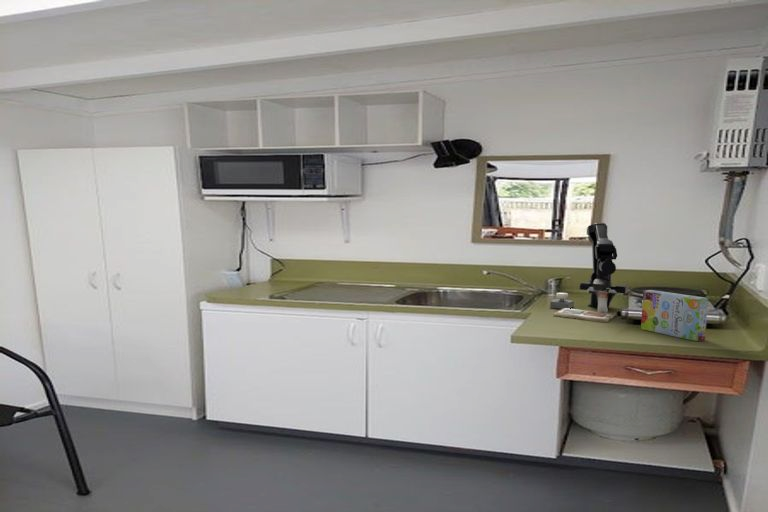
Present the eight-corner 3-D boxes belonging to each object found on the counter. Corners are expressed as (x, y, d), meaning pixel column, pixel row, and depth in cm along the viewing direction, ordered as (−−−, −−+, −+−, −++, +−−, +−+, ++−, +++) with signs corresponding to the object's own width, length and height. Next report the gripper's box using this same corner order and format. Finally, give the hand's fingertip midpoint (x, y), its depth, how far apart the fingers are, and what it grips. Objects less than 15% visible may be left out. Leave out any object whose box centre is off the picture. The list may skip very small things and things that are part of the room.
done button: (558, 302, 236) (558, 292, 236) (569, 304, 233) (569, 293, 233) (554, 304, 232) (554, 293, 232) (565, 305, 229) (566, 294, 229)
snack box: (706, 340, 176) (709, 297, 175) (697, 342, 174) (699, 299, 172) (648, 327, 195) (650, 288, 193) (639, 329, 192) (641, 290, 190)
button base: (556, 305, 238) (556, 298, 238) (573, 307, 234) (573, 300, 233) (550, 307, 232) (550, 301, 232) (567, 309, 227) (568, 303, 227)
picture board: (564, 310, 227) (564, 307, 227) (614, 316, 214) (614, 313, 214) (553, 315, 215) (553, 312, 215) (605, 322, 203) (605, 319, 202)
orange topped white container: (598, 311, 224) (599, 291, 223) (608, 312, 222) (609, 292, 221) (596, 312, 221) (596, 292, 220) (606, 314, 218) (607, 293, 217)
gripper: (576, 272, 219) (575, 307, 220) (622, 275, 207) (621, 312, 209) (583, 269, 227) (582, 303, 229) (629, 272, 216) (627, 308, 218)
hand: (602, 307), depth 221 cm, fingers closed on orange topped white container, 4 cm apart
